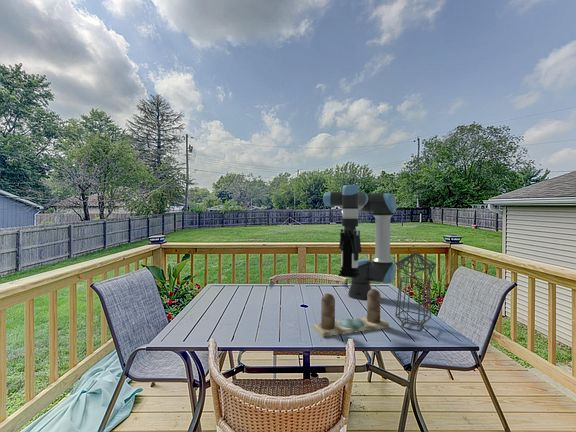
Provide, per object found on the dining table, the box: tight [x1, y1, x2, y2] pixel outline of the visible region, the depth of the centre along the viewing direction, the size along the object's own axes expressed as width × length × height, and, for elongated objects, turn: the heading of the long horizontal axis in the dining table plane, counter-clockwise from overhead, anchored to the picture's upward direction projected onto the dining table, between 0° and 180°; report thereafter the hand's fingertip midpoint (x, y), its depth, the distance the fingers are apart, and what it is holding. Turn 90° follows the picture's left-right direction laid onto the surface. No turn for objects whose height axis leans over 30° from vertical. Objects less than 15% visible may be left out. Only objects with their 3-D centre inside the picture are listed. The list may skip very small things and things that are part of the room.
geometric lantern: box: [393, 251, 437, 332], centre depth 141 cm, size 16×16×35 cm
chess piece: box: [338, 232, 360, 278], centre depth 142 cm, size 8×8×20 cm
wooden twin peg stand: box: [312, 288, 390, 338], centre depth 139 cm, size 34×11×17 cm, turn 109°
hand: (349, 265), depth 142 cm, fingers closed on chess piece, 9 cm apart
